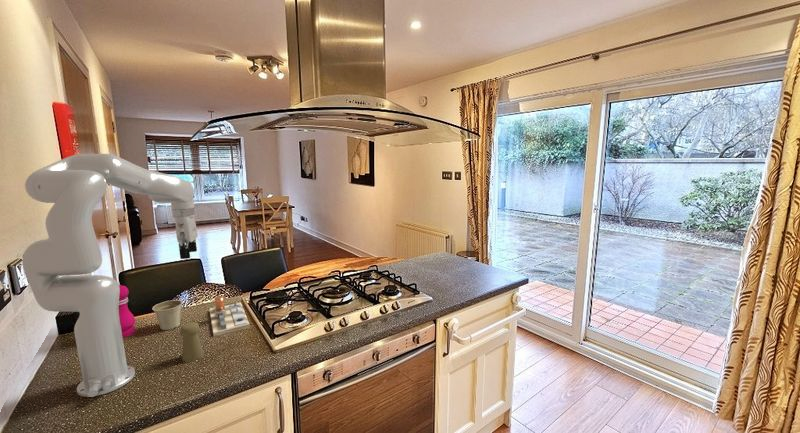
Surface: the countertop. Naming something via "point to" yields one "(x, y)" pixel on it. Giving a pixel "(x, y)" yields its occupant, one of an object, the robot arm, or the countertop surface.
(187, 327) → the cork
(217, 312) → the sliding point
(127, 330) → the pepper mill
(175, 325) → the flower pot
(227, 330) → the gauge board
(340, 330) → the countertop surface
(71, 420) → the countertop surface
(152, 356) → the countertop surface
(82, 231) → the robot arm
